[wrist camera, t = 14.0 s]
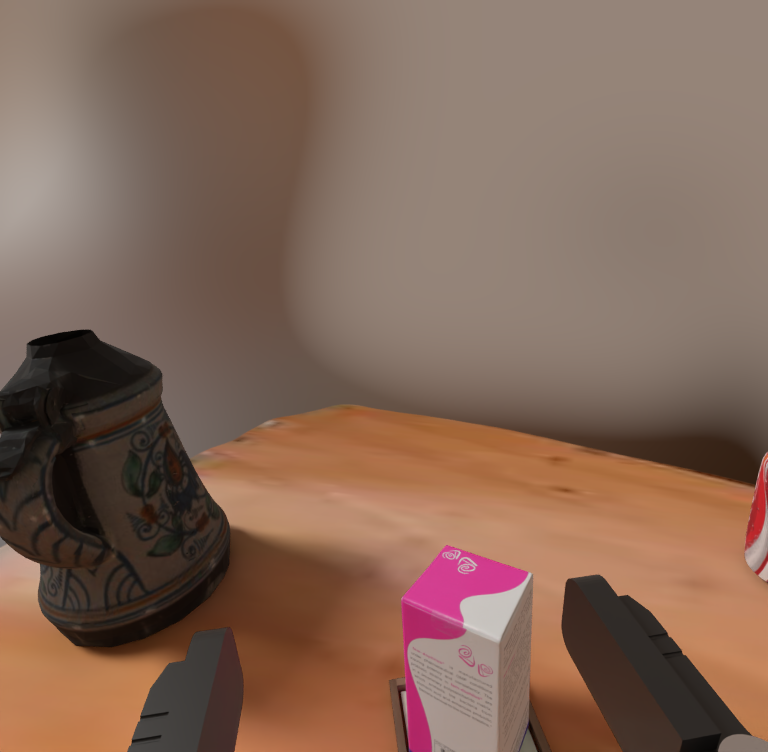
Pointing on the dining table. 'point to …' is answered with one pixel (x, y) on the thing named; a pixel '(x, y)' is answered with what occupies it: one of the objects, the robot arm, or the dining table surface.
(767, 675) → the dining table surface
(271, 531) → the dining table surface
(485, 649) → the supplement box
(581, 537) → the dining table surface
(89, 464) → the beer stein
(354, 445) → the dining table surface
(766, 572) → the soda can
